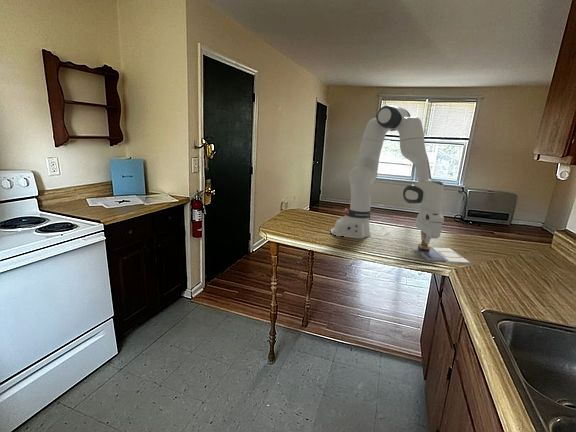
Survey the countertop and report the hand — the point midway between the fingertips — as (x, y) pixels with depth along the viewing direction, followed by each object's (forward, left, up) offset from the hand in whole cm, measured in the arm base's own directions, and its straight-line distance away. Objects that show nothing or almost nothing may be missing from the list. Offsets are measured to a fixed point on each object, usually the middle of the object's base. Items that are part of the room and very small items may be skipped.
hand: (424, 241), depth 151 cm
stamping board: (+5, -5, -6) cm, 9 cm away
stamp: (0, 0, -4) cm, 4 cm away
